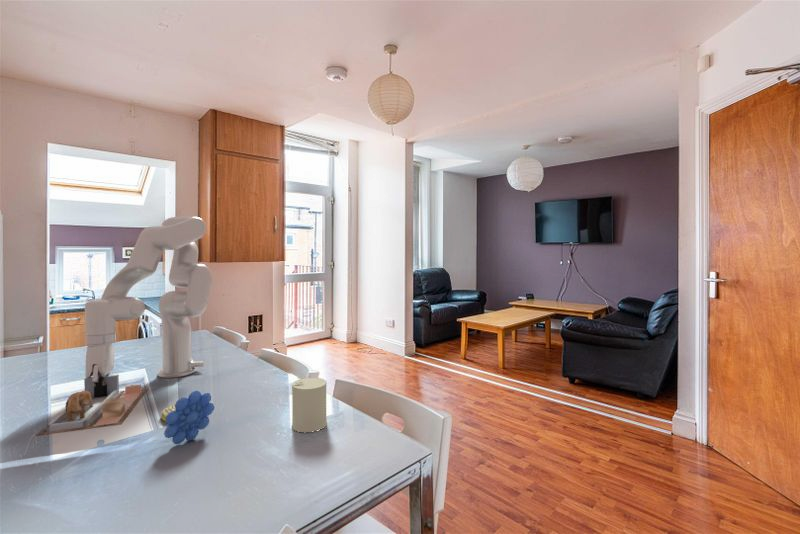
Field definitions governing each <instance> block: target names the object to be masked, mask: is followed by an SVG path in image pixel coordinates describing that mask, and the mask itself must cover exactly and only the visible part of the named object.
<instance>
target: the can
mask: <svg viewBox="0 0 800 534" xmlns="http://www.w3.org/2000/svg"><path fill="white" fill-rule="evenodd" d="M291 389H292V392H291V396H292V397H291V398H292V401H291V402H292V405H291V406H292V411H291V412H292V418H291V419H292V420H291V421H292V423H291V429H292V430H293V431H294V430H295V431H294V432H296V431H297V432H296V433H299V432H304V433H303V434H307V433H306V432H312V431H317V430H319V429H321V428H323V427H325V426H326V427H327V425H328V422H327V421H328V420H327V380H326V379H324V378H320V377H305V378H300V379H297V380H295V381H294V382H292V384H291ZM326 424H327V425H326ZM326 427H325V428H326ZM317 432H318V431H317Z"/></svg>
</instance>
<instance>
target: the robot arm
mask: <svg viewBox="0 0 800 534" xmlns="http://www.w3.org/2000/svg"><path fill="white" fill-rule="evenodd" d="M206 232H207V224H206V222H205V220H203V218H201V217H198V216H172V217H168V218H166V219H164V221H163V223H162V225H156V226H155V225H154V226H147V227H145V228H144V229H142V230H141V232H140V234H139V236H138V238H137V241H136V243H135V244H134V248H133V249H132V251H131V254H130V256H129V259H128V262H127V264H126V265H124V267H123V268H121V269H120V270H119V271H118V272H117V273H116V275H114V276H113V277H112V278H111V279H110V281H109V282H108V283H107V284H106V286H105V288H104V290H103V294H102V295H101V298H100V299H92V300H87V301H86V302H85V304H84V335H85V338H84V340H85V347H87V348H86V352H85V353H86V354H85V367H84V368H85V370H84V371H85V372H84V374H85V375H84V376H85V378H90V377H93V378H92V383H94V397H93V398H94V399H95V398H96V399H97V398H104V397H105V398H107V397H108V396H107V385H106V376H107V375H111V372H112V371H113V370H114V368H115V350H114V344H115V343H116V342H117V338H116V337H117V336H116V335H117V332H116V327H117V326H116V325H117V322H116V321H131V320H135V319H138V318H140V317H141V316H142V315H144V312H145V311H146V305H145V303H144V301H143V300H141V299H140V298H137V297H134V296H128V294H129V292H130V290H131V289H132V287H134V286H135V285H136V284H137V283H140V282H141V281H143V280H145V279H147V278H149V277H151V276H152V275H154V274H155V273H156V271H157V268H158V267H159V263H160V261H161V258H162V256H163V254H164V251H173V256H172V260H171V264H170V265H171V266H170V269H169V274H168V275H169V276H168V282H169V283H170V284H171V286H173V287H175V288H181V289H182V288H183V289H186V291H185V290H172V291H167V292H165V293H163V294H162V295H161V296H160V298H159V301H158V309H159V310H158V312H159V314H160V318H161V327H162V328H161V331H162V332H161V338H162V339H161V341H162V342H161V343H162V345H161V346H162V351H161V352H162V369H161V370H159V371H158V372H157V376H158V377H159V378H163V379H164V378H165V379H171V378H173V379H174V378H181V377H185V376H189V375H191V374H194V373H195V372H197V368H202V367H205V361H202V360H198V361H197V360H194V358H193V357H192V325H191V321H190V319H189V318H198V317H200V316H201V315H203V314H204V312H205V311H206V309H207V306H208V301H209V296H210V292H211V286H212V279H213V275H212V272H211V269H210V268H209V267H208V266H207V265H205V264H203V263H198V261H199V260H198V259H199V247H198V246H197V243H196V241H197V240H200V239H202V238H203V236H204V235H206ZM99 378H102V379H99Z"/></svg>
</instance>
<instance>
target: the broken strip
mask: <svg viewBox="0 0 800 534" xmlns="http://www.w3.org/2000/svg"><path fill="white" fill-rule="evenodd" d="M124 389H125V390H124V391H125V392H124V393H123V394H122V395H121V396H120V397H125V404H126V403H134V401H135V400H136V399H137V398H138V396H139V395H140V394H141V392H142V391H143V389H142V384H141V383H140V384H134V385H126V386H125V388H124ZM131 405H132V404H130V405H125V411H124V412H123V414H122V415H121V416H119V417H111V418H103V416H102V417H101V418H100V419H99V420H98V421H97V422H96V423H95V426H97V425H104V424H112V423H118V422H119V420H120V419H121V418H122V417H123V415H124V414H125V413H126V412H127V410H128V409H129V408H130V406H131Z"/></svg>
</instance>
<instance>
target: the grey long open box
mask: <svg viewBox="0 0 800 534" xmlns="http://www.w3.org/2000/svg"><path fill="white" fill-rule="evenodd" d="M119 376H120V375H119V374H118V373H117V374H110V375H107V376H106V385H107V396H106V397H105V399H104V400H103V401H101V403H100V404H99V405H98V406H97V407H96V408H95V409H94V410H93V411H91V413H89V415H88V416H87V417H86V418H84V419H81V420H80V419H79V420H72V421H64V419H66V418H68V415H67V412H66V408H65V409H64V410H63V411H62V412H60V414H58V415H57V416H55V418H53V419H52V420H51V421H50V422H49V423H48V424H46V425H45V427H44V428H46V431H45V432H52V431H59V430H67V429H74V428H82V427H88V426H89V424H90V423H91V422H92V421H93V420H94V419H95V418H96V417H97V416H98V415H99V414H100V413H101V412H102V411H103V409H102V404H103V403H104V402H105V401H106V400H107V399H110V398H115V397H116V396H117V395H118V394H119V393H120V386H119V385H120V383H119V382H120V381H119V380H120V379H119ZM92 378H93V376H91V377H90V378H86V377H85V378H84V380H83V381H84V384H83V385H84V391H88V392H90V394H91V398H94V383H92ZM99 379H102V378H99ZM63 421H64V422H63Z"/></svg>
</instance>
